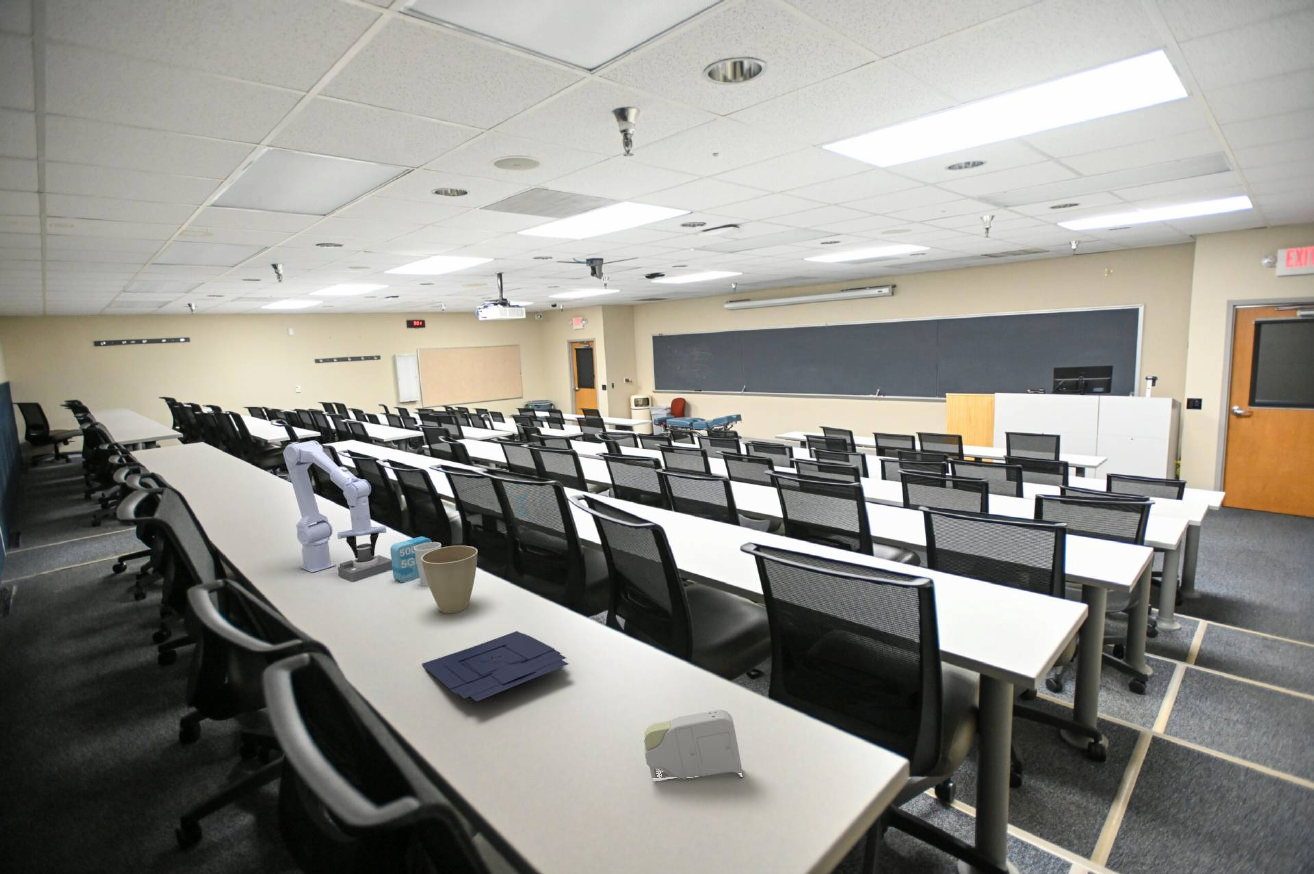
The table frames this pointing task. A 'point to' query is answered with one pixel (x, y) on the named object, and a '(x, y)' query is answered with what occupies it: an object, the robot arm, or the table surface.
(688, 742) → the toy camper
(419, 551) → the cup
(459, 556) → the plant pot
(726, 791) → the table surface
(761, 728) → the table surface
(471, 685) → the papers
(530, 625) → the table surface
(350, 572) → the camera body
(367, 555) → the lens
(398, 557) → the data package
